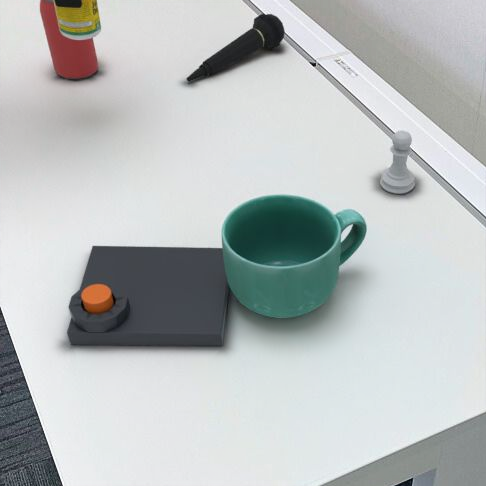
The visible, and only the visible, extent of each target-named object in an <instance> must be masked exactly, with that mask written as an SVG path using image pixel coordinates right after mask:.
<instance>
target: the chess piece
mask: <svg viewBox="0 0 486 486" xmlns="http://www.w3.org/2000/svg"><path fill="white" fill-rule="evenodd" d="M391 139H392V140H391V141H392V145H391V146H390V148H389V150H390V153H392V163H391V164H390V166H389V167H388V168H385V169H384V170H383V171H382V172H381V177H380V179H379V184H380V186H381V187H382V189H383V190H384V191H386V192H388V193H390V194H395V195H402V194H407V193H409V192H411V191H412V190H413V189H414V188H415V185H416V184H415V175H414V173H413V172H412V171H411V170H410V169H409V168H408V166H407V161H408V157H409V155H411V154H412V152H413V150H412V147H410V146H411V145H412V142H413V138H412V135H411V133H410V132H409V131H406V130H398V131H396V132H395V133H394V134H393V136H392V138H391Z"/></svg>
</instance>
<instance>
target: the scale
mask: <svg viewBox="0 0 486 486" xmlns="http://www.w3.org/2000/svg"><path fill="white" fill-rule="evenodd" d="M95 284H102V285H106V286H107V287H109V288H110V290H111V293H112V298H113V302H114V303H113V306H112V308H111V309H110V310H109V311H107V312H104V313H101V314H92V313H89V312H87V311H86V310H85V308H84V304H83V301H82V297H81V295H82V292H83V290H84V289H85V288H87V287H89V286H91V285H95ZM229 291H230V287H229V284H228V281H227V277H226V272H225V266H224V258H223V249H222V247H190V246H188V247H186V246H185V247H184V246H181V247H180V246H133V245H132V246H129V245H128V246H125V245H92V247H91V250H90V253H89V257H88V261H87V264H86V267H85V270H84V273H83V277H82V280H81V285H80V287H79V290H77V291H76V292H75V293H74V294H73V295H71V296H70V300H69V303H68V310H69V313H70V321H69V324H68V327H67V331H66V335H67V337H68V341H69V343H70V345H71V346H72V345H73V346H74V345H76V346H77V345H78V346H161V347H163V346H165V347H166V346H167V347H168V346H174V347H175V346H176V347H223V346H224V337H225V329H226V328H225V327H226V320H227V310H228V302H229V301H228V300H229Z"/></svg>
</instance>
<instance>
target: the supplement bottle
mask: <svg viewBox="0 0 486 486" xmlns="http://www.w3.org/2000/svg"><path fill="white" fill-rule="evenodd" d="M54 5H55V10H56V15H57V20H58V25H59V30H60V32H61V34H62V35H63V36H65V37H67V38H70V39H74V40H85V39H90V38H93V39H94V38H95V37H97V36H98V35H100V34H101V31H102V23H101V18H100V11H99V5H98V0H82V6H81V7H80V8H70V7H58V6H56V4H55V0H54Z"/></svg>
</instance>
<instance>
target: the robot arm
mask: <svg viewBox="0 0 486 486" xmlns="http://www.w3.org/2000/svg"><path fill="white" fill-rule="evenodd" d="M55 4H56V6H58V7H70V8H80V7H81V6H82V0H55Z"/></svg>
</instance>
